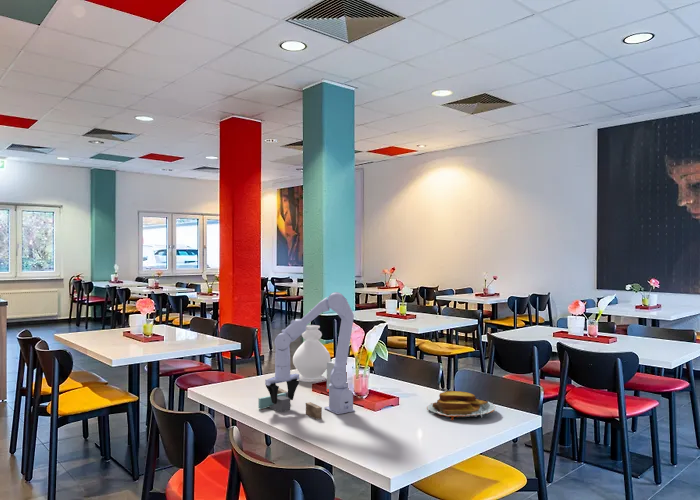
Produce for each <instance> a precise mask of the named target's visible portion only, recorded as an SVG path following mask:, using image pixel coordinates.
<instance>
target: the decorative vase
mask: <svg viewBox="0 0 700 500" xmlns="http://www.w3.org/2000/svg"><path fill="white" fill-rule="evenodd" d="M320 328H321V326H320V325H317V324H307V325H306V331H305V332H304V333H303V334H301V338H303V339H304V341H303V342H302V343H301V344H300V345H299V346H298V347H297V349H296V350H295V352H294V353H293V356H292V364H293V366H294V368H295V369H296V370H297V371H298V373H299V380H298V381H299V382H303V383H317V382H318V383H319V382H322V380H323V381H324V380H326V377H325V376H324V375H323V374H324V373H325V372H326V371H327V362H332V360H331V358H332V357H331V355H330V352H329V351H328V349H327V348H326V346H325V345H324V344H323V343H322V342H321V341H320V339H321V338H322V336H323V333H322V331H320Z"/></svg>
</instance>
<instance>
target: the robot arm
mask: <svg viewBox="0 0 700 500" xmlns="http://www.w3.org/2000/svg"><path fill="white" fill-rule="evenodd" d="M330 309H331V310H332V311H333V312H335V313H336V315H337V316H338V317H339V318H340V319H341V321H340V327H339V333H338V339H337V340H338V341H337V346H336V353H335V357H334V358H335V359H334V361H335V364H334V367H333V369H332V370H331V373H330V375H331V376H330V382H331V383H330V384H329V393H328V406H325V407H324V409H325V410H327V411H329V412H332V413H334V414H336V415H341V414H348V413H352V412H355V411H356V410H355V408H354V394H353V391H352V390H351V389H350V390H349V388H348V383H346V382H347V372H346V365H347V361H348V358H349V357H348V356H349V350H350V343H351V338H352V337H351V336H352V331H353V324H354V317H355V316H354V315H355V314H354V312H353V310H352V308H351V306H350V304H349V302H348V299H347V298H346V297H345V296H344V295H343V294H342V293H340V292H338V291H334V292H332V293H330V295H328V296H326V297H325V298H323V299H321V300H320V301H319V302H318V303H317V304H316V305H314V307H312V309H310V310H309V312H307V313H306V314H305V315H304V316H303V317H302V318H295V319H292V320H290V324H288V326H287V327H285V329H284V328H283V329H282V330H280V331H281V332H280V333H278V334H277V336H275V339H274V342H273V343H274V347H275V349H274V351H275V352H274V376H273V377H270V378H266V379H265V381H264V383H265V384H264V385H265V388H266V389H267V390H268V394H269V396H271V400H272V403H274V404H277V393H278V388H280V386H278V385H277V384H281V383H286V386H287V392H288V398H290V401H293V400H294V397H295V393H296V390H297V388H298V386H299V385H300V380H299V377H300V373H299V374H298V373H292V374H291V352H290V351H291V350H290V349H291V348H290V346H291V343H292V342H295V341H296V340H297V339H298V338H300V337H301V336H302V334H303V333H304V332H305V331H306V325H310V323H311V322H312V321H313V320H314V319H316V318H317V317H318V316H320V315H321V313H324V312H330Z"/></svg>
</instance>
